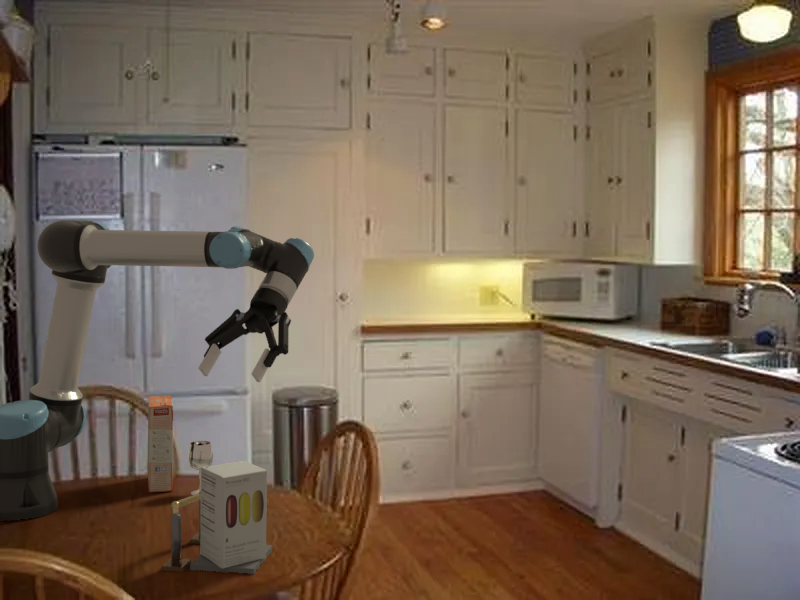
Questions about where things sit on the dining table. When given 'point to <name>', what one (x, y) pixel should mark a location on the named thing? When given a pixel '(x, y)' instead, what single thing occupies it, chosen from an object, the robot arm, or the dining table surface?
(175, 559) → the small hurdle
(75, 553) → the dining table surface
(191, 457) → the wineglass
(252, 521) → the supplement box
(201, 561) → the mat
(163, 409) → the cracker box
